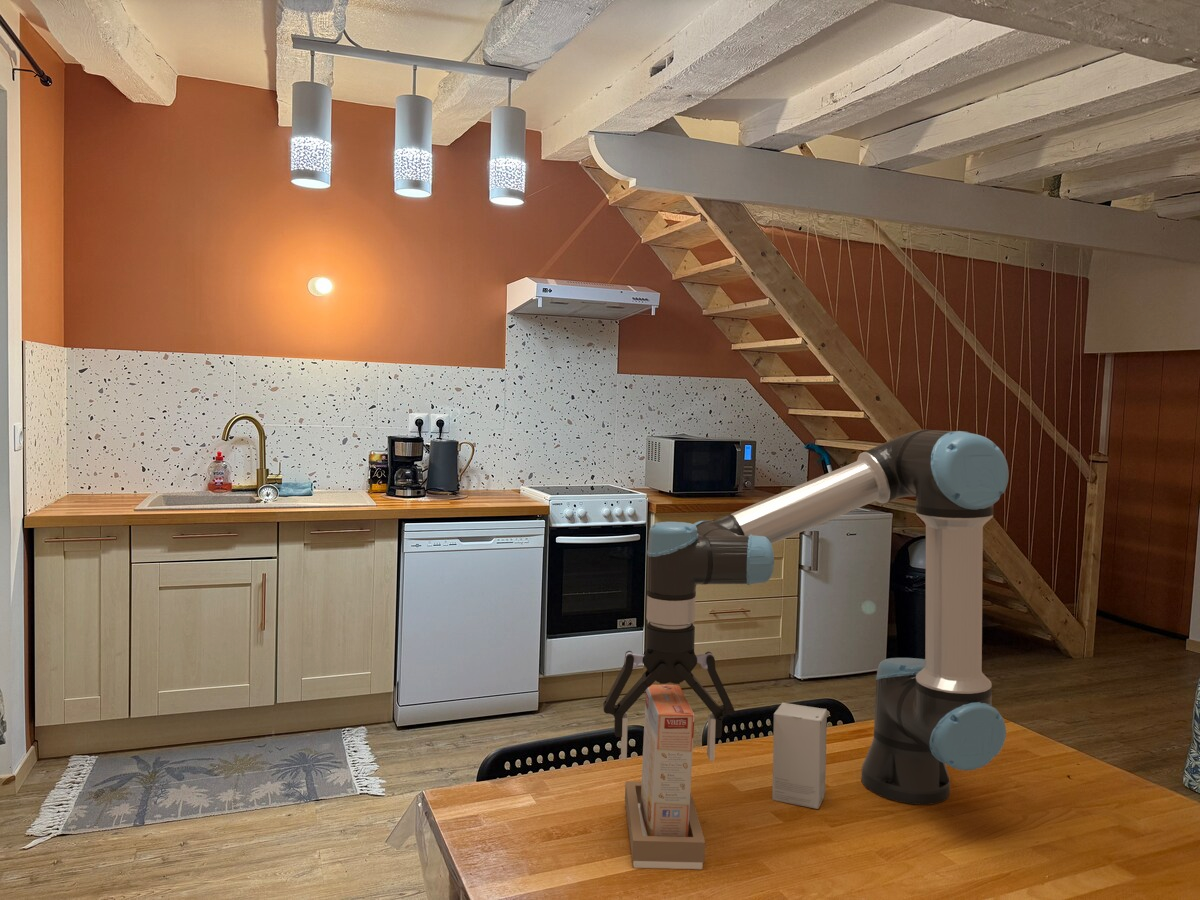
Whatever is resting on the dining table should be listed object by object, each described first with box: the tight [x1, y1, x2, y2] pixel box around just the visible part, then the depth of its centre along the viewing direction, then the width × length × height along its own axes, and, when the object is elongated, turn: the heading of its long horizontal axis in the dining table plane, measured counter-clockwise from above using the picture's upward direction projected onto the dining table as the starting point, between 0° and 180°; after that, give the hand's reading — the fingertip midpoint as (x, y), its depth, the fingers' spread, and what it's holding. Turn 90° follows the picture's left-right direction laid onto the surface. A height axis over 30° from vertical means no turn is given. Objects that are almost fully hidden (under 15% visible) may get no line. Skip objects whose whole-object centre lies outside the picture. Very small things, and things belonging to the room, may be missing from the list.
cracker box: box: [640, 683, 695, 837], centre depth 138 cm, size 14×6×21 cm, turn 4°
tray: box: [624, 780, 706, 870], centre depth 138 cm, size 10×20×4 cm, turn 2°
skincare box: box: [771, 702, 828, 810], centre depth 152 cm, size 8×7×16 cm
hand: (667, 757), depth 138 cm, fingers open, 13 cm apart
